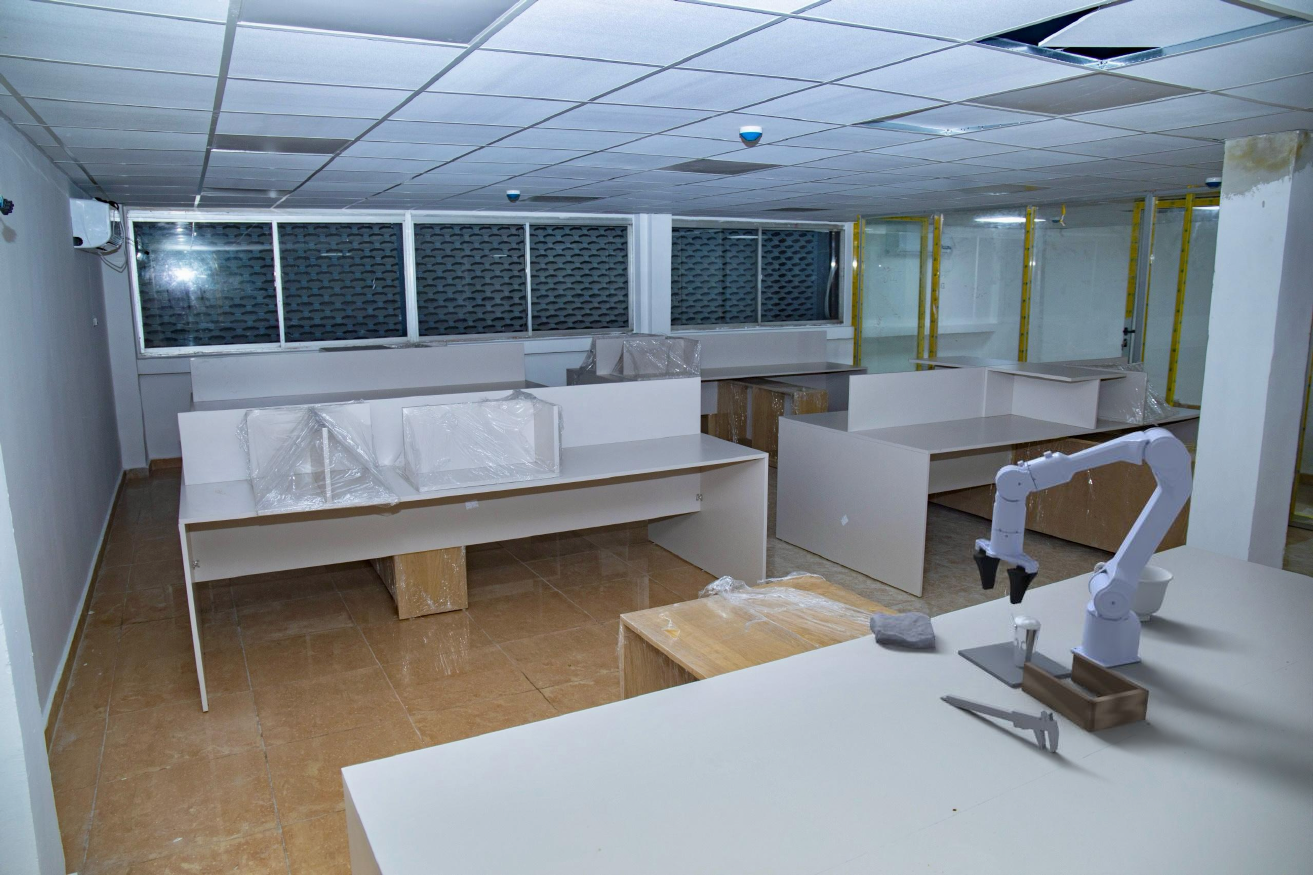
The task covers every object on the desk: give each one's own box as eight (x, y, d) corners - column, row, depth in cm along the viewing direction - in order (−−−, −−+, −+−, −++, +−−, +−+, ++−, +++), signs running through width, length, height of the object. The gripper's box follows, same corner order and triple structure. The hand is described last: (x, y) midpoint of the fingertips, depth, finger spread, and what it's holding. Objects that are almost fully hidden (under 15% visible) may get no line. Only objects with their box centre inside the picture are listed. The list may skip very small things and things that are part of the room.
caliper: (1057, 753, 130) (1061, 715, 128) (1053, 755, 129) (1057, 717, 128) (943, 698, 146) (946, 664, 145) (939, 700, 145) (942, 665, 144)
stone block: (938, 658, 164) (927, 627, 174) (940, 637, 163) (929, 607, 172) (875, 657, 166) (868, 626, 175) (876, 636, 164) (869, 606, 173)
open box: (1074, 679, 152) (1077, 652, 151) (1145, 719, 139) (1149, 690, 138) (1021, 689, 148) (1024, 662, 147) (1088, 731, 135) (1092, 702, 134)
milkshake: (1000, 659, 159) (1005, 608, 157) (1028, 658, 159) (1034, 608, 157) (1011, 670, 154) (1017, 618, 152) (1040, 670, 154) (1046, 618, 152)
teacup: (1101, 596, 191) (1106, 554, 189) (1175, 616, 180) (1181, 571, 178) (1079, 610, 183) (1084, 566, 181) (1155, 632, 172) (1161, 585, 170)
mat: (1016, 643, 167) (1017, 640, 167) (1073, 675, 154) (1074, 672, 154) (958, 653, 162) (958, 650, 162) (1011, 687, 149) (1011, 684, 149)
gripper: (965, 519, 168) (959, 585, 171) (1019, 542, 155) (1012, 612, 158) (994, 516, 171) (988, 581, 174) (1049, 538, 157) (1042, 607, 160)
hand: (1001, 595), depth 166 cm, fingers open, 7 cm apart
